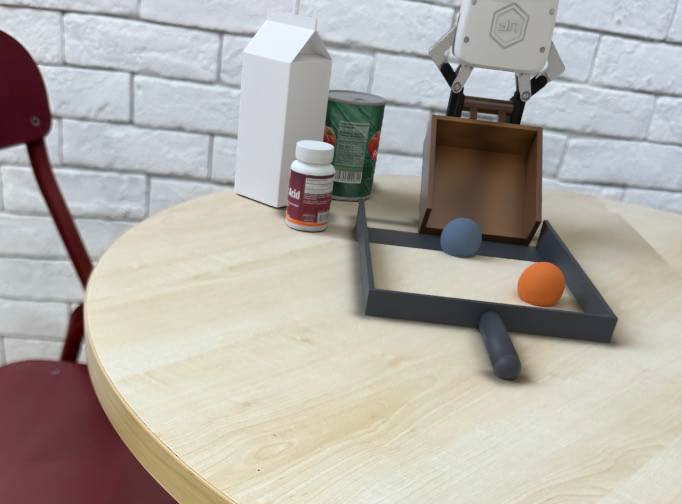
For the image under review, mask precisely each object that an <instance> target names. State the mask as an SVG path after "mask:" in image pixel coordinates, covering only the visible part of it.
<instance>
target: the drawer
mask: <svg viewBox="0 0 682 504" xmlns="http://www.w3.org/2000/svg"><path fill="white" fill-rule="evenodd" d="M464 95H465V99H464V104H463V109H462V112H466V113H468V118H467V117H461V118H459V117H451V116H446V115H442V114H434V113H433V114H431V116H430V120H429V124H428V127H427V130H426V134H425V138H424V140H423V143H422V144H423V145H422V146H423V147H422V161H421V177H420V178H421V181H420V193H419V194H420V195H419V196H420V197H419V213H418V228H417V233H422V234H430V235H439V236H441V234H442V231H443V229H444V228H445V226H446V225H447V224H448V223H449V222H451V221H452V220H454V219H457V218H468V219H471V220H472V221H474V222H475V223H476V224H477V225H478V226H479V228H480V230H481V234H482V241H490V242H499V243H508V244H516V245H525V246H530V244H531V242H532V241H533V238H535V235H536V234H537V232H538V230H539V227H540V226H541V225H542V223H543V149H544V147H543V145H544V143H543V139H544V127H543V126H534V125H528V124H527V125H526V124H520V125H518V124H510V123H505V116H507V117H510V116H511V114H512V112H513V107H514V102H513V101H509V99H507V100H506V99H498V98H492V97H491V98H490V97H481V96H476V95H475V96H474V95H466V94H464ZM478 114H483V115H490V116H496V121H492V120H484V119H478Z"/></svg>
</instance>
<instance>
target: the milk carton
mask: <svg viewBox="0 0 682 504" xmlns="http://www.w3.org/2000/svg"><path fill="white" fill-rule="evenodd" d="M317 25H318V18H317V17H311V16H307V15H302V14H298V13H292V12H287V11H281V10H277V9H272V8H267V9H266V20H265V21H264V23H263V24H262V25H261V26H260V28H259V29H258V31H256V33H255V35H254V36H253V37H252V38H251V40H249V42H248V43H247V45H246V46H245V48H244V49H243V50H242V65H241V79H240V95H239V109H238V110H239V111H238V126H237V128H238V129H237V142H236V155H235V156H236V157H235V170H234V171H235V173H234V174H235V175H234V187H233V191H234V193H235V194H237V195H240V196H243V197H245V198H249V199H251V200H254V201H257V202H260V203H263V204H265V205H268V206H271V207H274V208H281V207H287V199H288V189H289V179H290V169H291V165H292V163H293V162H294V161H295V160H297V158H296V156H295V155H296V154H295V152H296V145H297V142H299V141H303V140H312V141H320V142H323V136H324V128H325V120H326V111H327V103H328V95H329V90H330V85H331V78H332V77H331V76H332V68H333V58H332V56H331V55H330V53H329V51H328V49H327V47H326V46H325V44H324V41H323V40H322V38H321V36H320V35H319V33H318V31H317V27H318V26H317Z"/></svg>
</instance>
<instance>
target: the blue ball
mask: <svg viewBox="0 0 682 504" xmlns="http://www.w3.org/2000/svg"><path fill="white" fill-rule="evenodd" d="M481 242H482V234H481V230H480V228H479V226H478V225H477V224H476V223H475V222H474V221H472V220H471V219H468V218H457V219H454V220H452V221H451V222H449V223H448V224H447V225H446V226H445V228H444V229H443V231H442V234H441V239H440V243H441V248H442V250H443V251H442V252H443V253H445V254H446V255H449V256H452V257H457V258H465V259H466V258H467V259H468V258H472V257H474V256H476V255H475V254H476V253H477V251H478V250H479V248H480V246H481Z"/></svg>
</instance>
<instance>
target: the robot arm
mask: <svg viewBox="0 0 682 504" xmlns="http://www.w3.org/2000/svg"><path fill="white" fill-rule="evenodd" d="M559 3H560V0H462V1H461V5H460V9H459V12H458V17H457V21H456V23H455V24H454V25H453V26H452V27H451V28H450V29H449V30H448V31H447V32H445V33H444V35H442V36H441V37H440V38H439V39H437V41H435V42H434V44H433V45H431V46H430V47H429V49H428V51H427V52H428V53H427V54H428V55H429V57H430V59H431V60H432V61H433V63H434V64H435V66H436V68H437V69H438V70H439V72H440V73H441V75H442V77H443V78H444V80H445V81H446V83H447V86H449V88H450V93H449V97H448V101H447V107H446V113H445V116H451V117H459V118H462V112H463V111H462V109H463V104H464V99H465V95H466V94H465V93H464V91H465V87H464V86H465V85H466V83H467V81H468V80H469V78H470V76H471V74H472V72H473V70H474V68H478V69H486V70H492V71H500V72H501V71H502V72H510V73H514V83H515V91H514V92H513V95H512V96H511V97H510V98H509V99H508V101H513V102H514V107H513V112H512V114H511V116H510V117H507V116H505V123H510V124H518V125H521V123H522V119H523V115H524V111H525V107H526V103H527V102H529V101H530V100H531V98H532V97H533V96H534V95H536V94H537V93H538V92H540V91H541V90H542V89H543V88H545V87H546V86H547V84H549V83H551V82H552V81H554V80H555V79H556V78H558V77H559V76H560V75H562V74H563V73H564V72H565V70H566V66H565V65H564V62H563V60H562V58H561V56H560V54H559V52H558V50H557V48H556V45H555V43H554V41H553V36H554V30H555V26H556V21H557V17H558V16H557V14H558V10H559ZM450 48H451V53H452V55H453V57H454V58H455V59H456V61H457V62H459V63H458V64H457V67H456V69H454V68H453V67H452V65H451V63H450V62H449V61H448V59H447V58H446V56H445V54H446V51H448V49H450ZM546 64H547V66H546ZM544 68H545V69H544ZM536 73H537V74H536ZM531 74H536V75H535V76H533V77H531Z"/></svg>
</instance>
